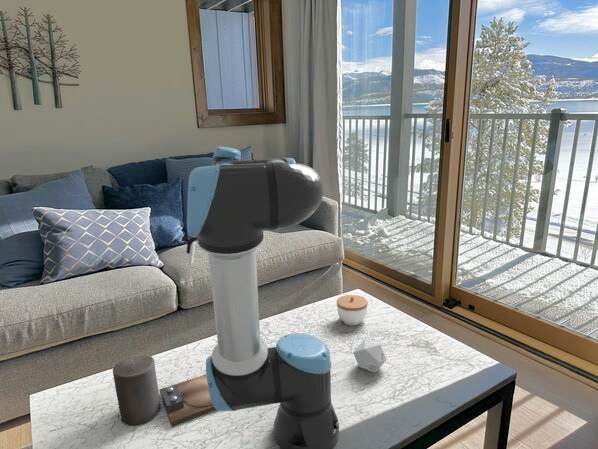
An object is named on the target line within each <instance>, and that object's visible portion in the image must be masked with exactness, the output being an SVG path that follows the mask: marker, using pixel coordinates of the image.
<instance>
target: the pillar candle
mask: <svg viewBox="0 0 598 449" xmlns="http://www.w3.org/2000/svg"><path fill="white" fill-rule="evenodd" d="M155 363H156V362H155V359H154V357H153V356H151V355H149V354H143V353H142V354H140V353H138V354H133V355H130V356H127V357H124V358H123V359H120V360H118V361H117V363H115V365H114V366H113V367H112V374H113V380H114V381H113V382H114V388H115V392H116V393H115V394H116V397H117V405H118V411H119V416H120V421H121V422H122V424H124V425H127V426H134V427H135V426H140V425H143V424H147V423H149V422H150V421H152V420H153V419H155V418H156V417H157V416H158V415H159V413H160V411H161V400H160V399H161V398H160V390H159V386H158V379H157V372H156V371H157V370H156V366H155V365H156V364H155Z"/></svg>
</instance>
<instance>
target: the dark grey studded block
mask: <svg viewBox="0 0 598 449" xmlns="http://www.w3.org/2000/svg"><path fill="white" fill-rule="evenodd" d="M169 386H170V387H169ZM169 386H167V387H168V388H167V389H164V390H161V393H162V398H163V401H164V404H165V407H166V410H167V412H168V413H170V412H173V411H175V410H178V409H181V408H184V403H183V399H182V396H181V394H180V392H179V389H178V387H177V385H176V386H173V387H172V385H169ZM162 398H161V399H162ZM163 401H162V402H163ZM164 404H163V405H164ZM165 407H164V408H165ZM166 410H165V411H166Z"/></svg>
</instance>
